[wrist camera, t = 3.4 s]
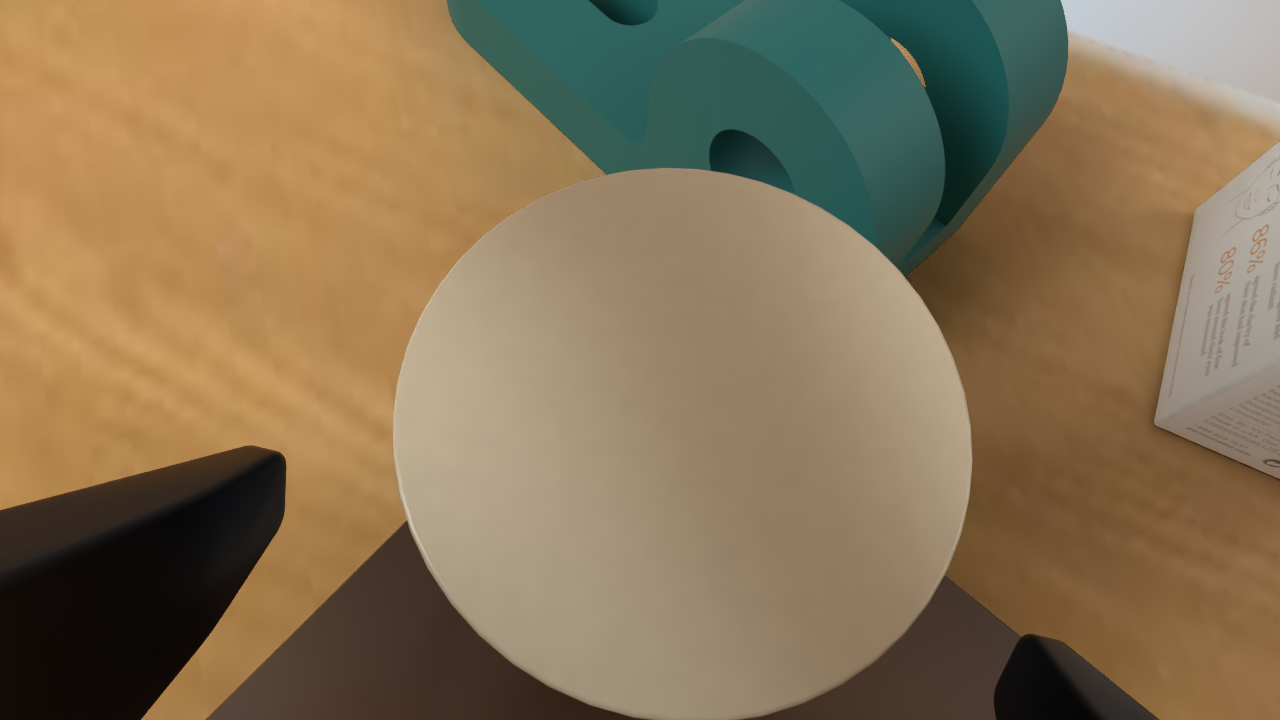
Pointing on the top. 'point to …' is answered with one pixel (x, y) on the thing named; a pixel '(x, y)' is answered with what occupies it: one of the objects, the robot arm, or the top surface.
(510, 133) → the top surface
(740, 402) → the spool
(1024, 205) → the top surface
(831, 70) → the bracket
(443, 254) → the top surface
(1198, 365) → the small box
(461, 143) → the top surface
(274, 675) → the platform
